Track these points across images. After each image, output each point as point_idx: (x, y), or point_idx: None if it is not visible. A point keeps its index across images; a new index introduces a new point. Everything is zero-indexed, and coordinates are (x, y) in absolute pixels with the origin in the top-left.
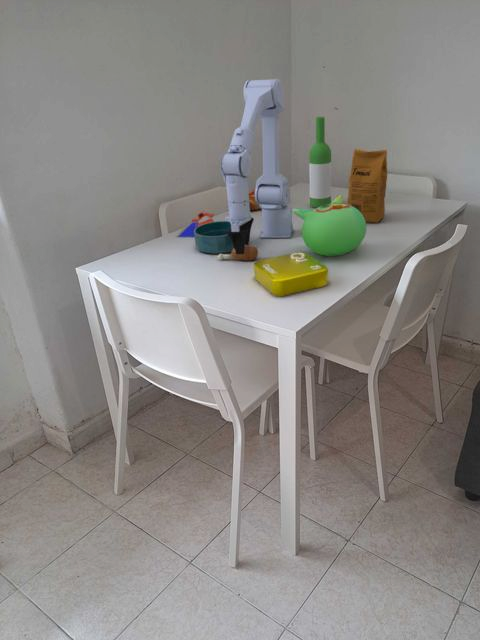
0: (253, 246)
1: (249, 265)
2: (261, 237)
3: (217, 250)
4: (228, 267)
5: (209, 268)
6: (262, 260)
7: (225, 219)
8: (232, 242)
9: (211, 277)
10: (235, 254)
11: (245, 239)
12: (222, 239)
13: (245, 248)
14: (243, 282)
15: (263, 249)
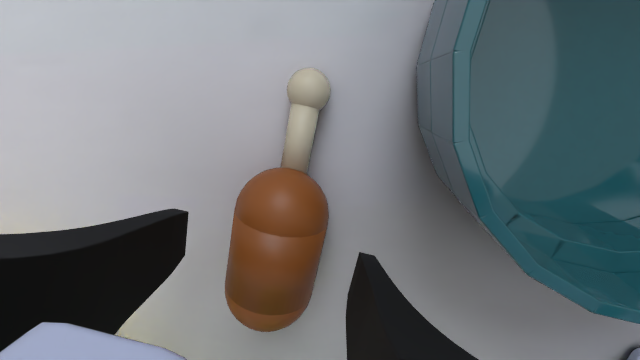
0: (260, 327)
1: (201, 244)
2: (633, 353)
3: (421, 59)
4: (184, 134)
5: (177, 13)
6: None
7: (26, 334)
8: (77, 230)
9: (46, 36)
10: (239, 195)
11: (352, 305)
12: (442, 113)
13: (237, 276)
14: (2, 203)
15: None
